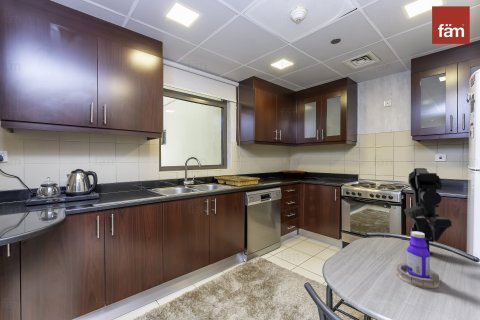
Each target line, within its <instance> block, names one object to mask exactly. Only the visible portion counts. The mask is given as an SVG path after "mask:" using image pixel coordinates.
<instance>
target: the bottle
mask: <svg viewBox="0 0 480 320" xmlns="http://www.w3.org/2000/svg"><path fill="white" fill-rule="evenodd" d="M408 243H409V245H408V246H407V248H406V263H407V272H408V273H409V274H410V275H412V276H415V277H419V278H426V279H429V277H430V269H431V254H430V253H429V251H430V250H429V251H428V249H427V246H428V245H427V244H426V242H425V234H424V233H422V232H417V231H413V232H412V236H410V239H409V241H408Z"/></svg>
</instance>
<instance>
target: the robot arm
mask: <svg viewBox="0 0 480 320" xmlns="http://www.w3.org/2000/svg"><path fill="white" fill-rule="evenodd" d="M427 169H428V168H425V167H415V168H413V171H412V172H410V173H409V174H408V177H407V184H409V188H410V189H411V190H412V191H413V196H414V206H411V207H407V208H405V209H403V212H404V213H405V216H406V218H410V219H412V220H413V223H412V227H410V232H409V234H410V237H411V236H412V232H413V231H417V232H422V233H424V234H425V242H426V244H427V245H428V246H427V249H428V251H429V253H430V255H433V252H432V251H430V242H431V243H434V242H437V241H438V240H439V239H440V238H441V236H442V235H443V234H444V232H445V231H446V230H447V229H449V228H450V227H451V228H452V226H453V221H452V220H451V219H449V218H447V217H444V216H442V217H441V216H440V214H438V213H437V208H439V207H440V206H439V204H440V203H441V201H442V196H441V195H440V193H438V192H437V190H439V191H440V190H442V188H443V184H442V179H441V178H440V176H439V175H438V174H437V172H429V171H428V170H427Z"/></svg>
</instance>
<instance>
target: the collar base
mask: <svg viewBox="0 0 480 320" xmlns="http://www.w3.org/2000/svg"><path fill="white" fill-rule="evenodd" d="M396 275H397V277H398V279H400V280H402V281H403V282H404V283H407V284H409V285H411V286H415V287H417V288H422V289H431V290H432V289H438V288H439V286H440V276H439V274H438V273H437V272H436V271H434V270H433V269H431V268H430V277H429V279H426V278H419V277H415V276H412V275H410V274H409V273H408V272H407V262H406V263H405V262H404V263H400V264H397V266H396Z"/></svg>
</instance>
